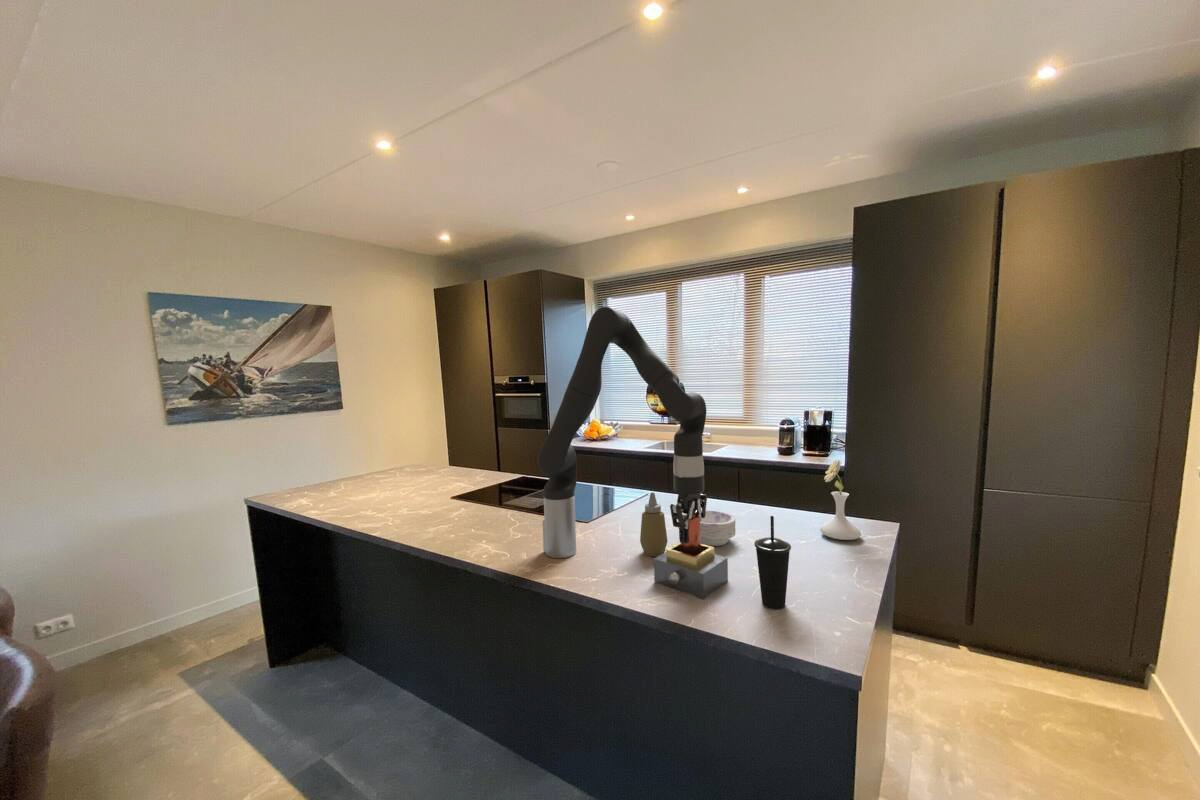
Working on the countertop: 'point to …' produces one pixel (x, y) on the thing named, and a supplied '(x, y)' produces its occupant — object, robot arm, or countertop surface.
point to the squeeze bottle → (653, 529)
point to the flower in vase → (839, 511)
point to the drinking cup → (773, 569)
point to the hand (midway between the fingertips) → (690, 539)
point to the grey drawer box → (691, 571)
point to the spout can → (692, 537)
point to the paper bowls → (716, 528)
